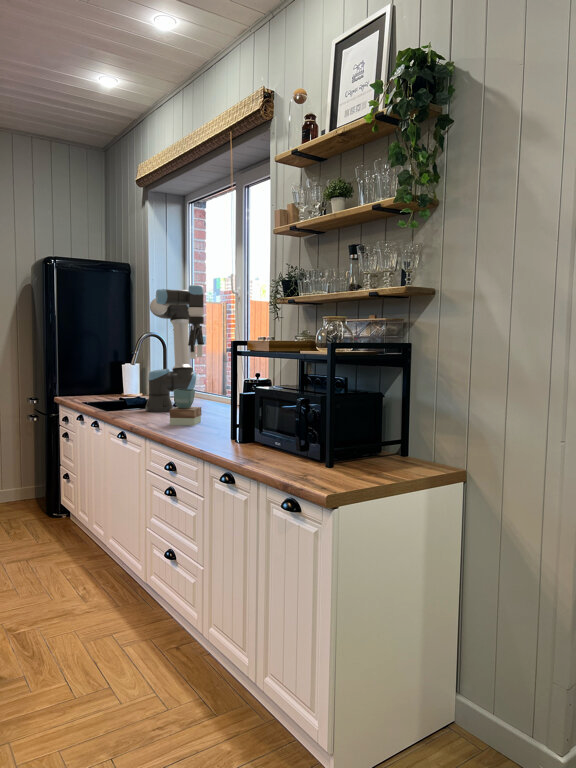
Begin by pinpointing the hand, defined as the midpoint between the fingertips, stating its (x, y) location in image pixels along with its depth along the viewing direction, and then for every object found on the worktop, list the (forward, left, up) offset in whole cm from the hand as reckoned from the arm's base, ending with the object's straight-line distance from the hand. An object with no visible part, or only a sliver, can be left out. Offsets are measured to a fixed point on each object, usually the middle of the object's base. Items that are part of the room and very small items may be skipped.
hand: (196, 358), depth 298 cm
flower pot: (+15, -3, -24) cm, 28 cm away
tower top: (+15, -2, -28) cm, 32 cm away
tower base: (+15, -2, -32) cm, 35 cm away
